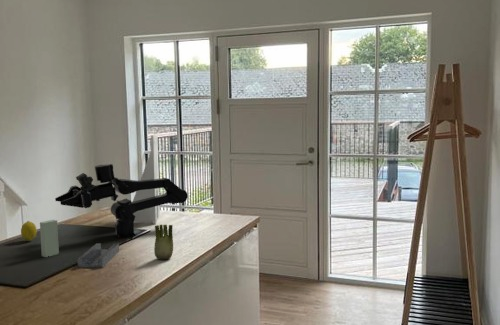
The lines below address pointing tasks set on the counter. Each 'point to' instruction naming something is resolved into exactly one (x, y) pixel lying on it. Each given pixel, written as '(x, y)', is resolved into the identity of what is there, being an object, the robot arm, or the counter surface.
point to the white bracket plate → (148, 174)
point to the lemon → (28, 230)
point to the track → (97, 256)
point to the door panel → (49, 238)
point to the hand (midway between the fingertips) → (57, 201)
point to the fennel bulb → (163, 242)
